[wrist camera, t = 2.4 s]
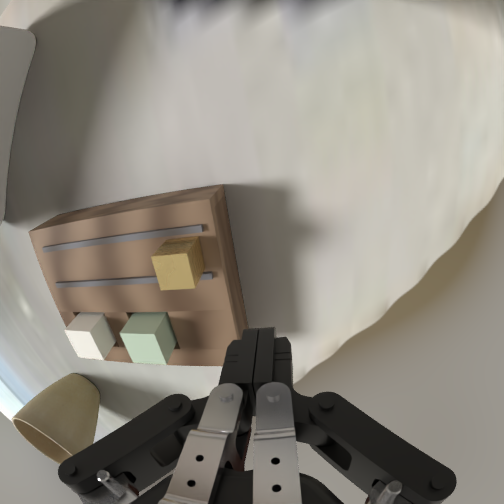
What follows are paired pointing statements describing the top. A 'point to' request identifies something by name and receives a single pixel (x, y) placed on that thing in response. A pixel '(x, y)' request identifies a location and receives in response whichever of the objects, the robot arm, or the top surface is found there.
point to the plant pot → (61, 418)
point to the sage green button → (149, 337)
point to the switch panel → (147, 269)
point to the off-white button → (91, 335)
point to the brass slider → (179, 263)
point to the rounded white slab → (11, 92)
